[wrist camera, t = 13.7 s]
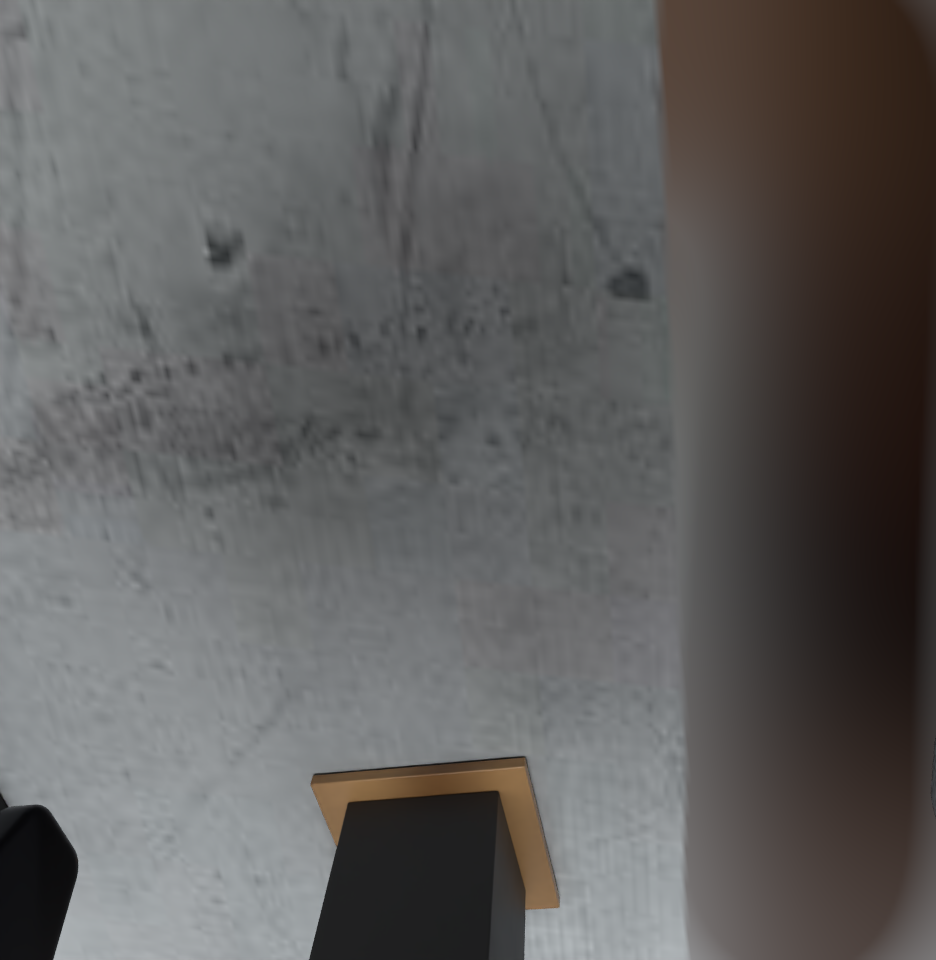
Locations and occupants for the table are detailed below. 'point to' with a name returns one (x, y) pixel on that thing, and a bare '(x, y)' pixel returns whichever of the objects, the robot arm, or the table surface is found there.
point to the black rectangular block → (424, 883)
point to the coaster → (449, 780)
